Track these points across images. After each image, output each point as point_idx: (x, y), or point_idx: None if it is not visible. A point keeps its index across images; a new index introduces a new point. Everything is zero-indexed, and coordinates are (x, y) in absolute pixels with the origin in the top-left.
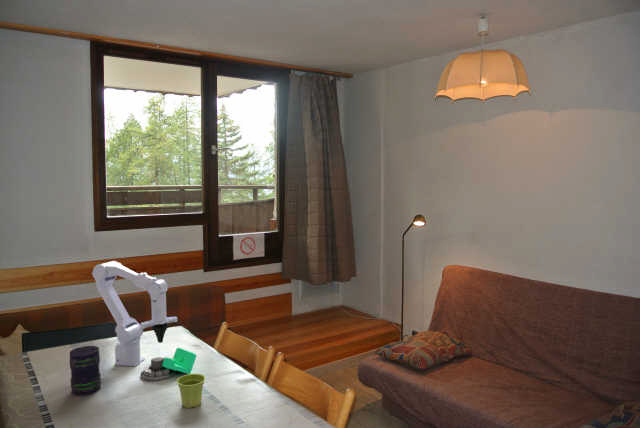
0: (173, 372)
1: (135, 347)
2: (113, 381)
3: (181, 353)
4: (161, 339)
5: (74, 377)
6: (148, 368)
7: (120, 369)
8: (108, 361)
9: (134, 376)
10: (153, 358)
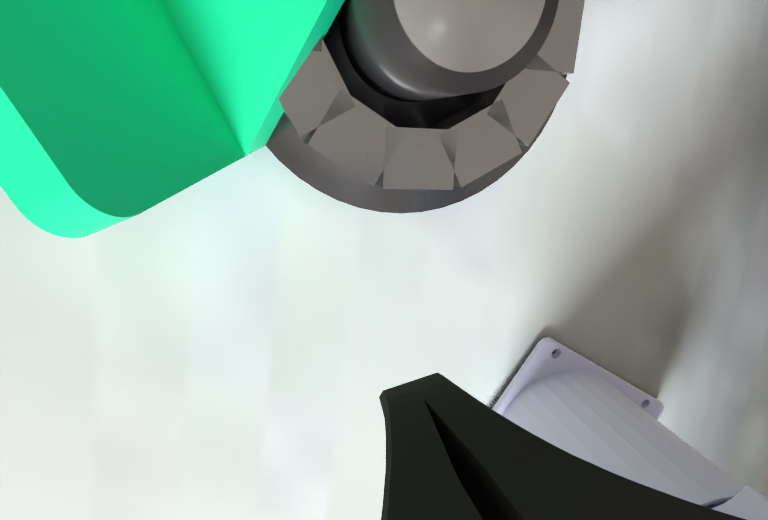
0: None
1: (639, 480)
2: (742, 77)
3: (31, 9)
4: (424, 407)
5: None
6: None
7: (642, 313)
8: None
9: (594, 104)
10: (511, 76)
